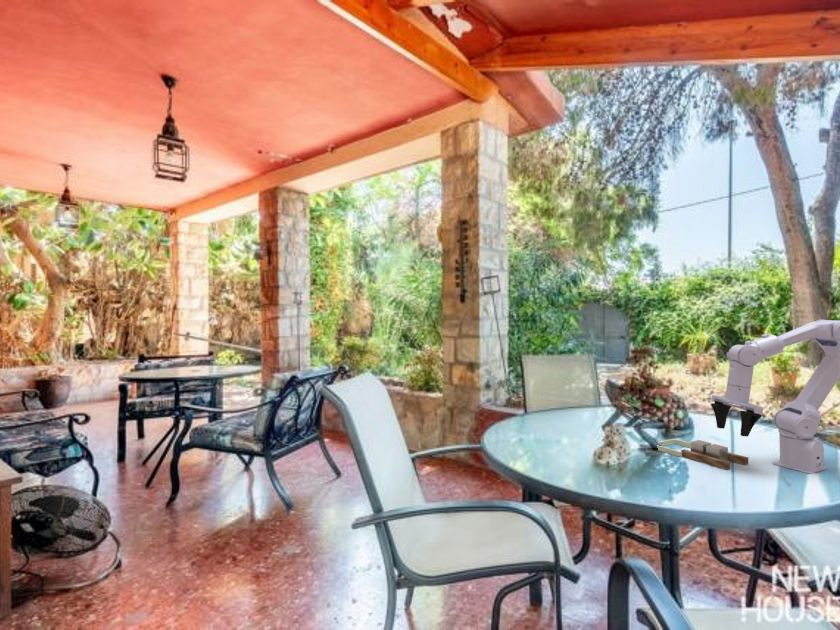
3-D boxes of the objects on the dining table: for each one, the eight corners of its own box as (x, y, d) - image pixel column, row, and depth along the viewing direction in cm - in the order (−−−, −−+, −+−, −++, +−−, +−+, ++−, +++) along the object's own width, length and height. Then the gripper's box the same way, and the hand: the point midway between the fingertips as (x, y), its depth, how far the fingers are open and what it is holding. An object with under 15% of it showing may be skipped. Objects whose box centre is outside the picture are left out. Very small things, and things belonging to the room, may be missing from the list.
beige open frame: (705, 451, 149) (705, 446, 149) (681, 457, 144) (680, 452, 144) (674, 442, 159) (674, 438, 159) (650, 447, 154) (650, 443, 154)
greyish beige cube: (711, 457, 143) (711, 443, 143) (703, 459, 142) (702, 445, 141) (699, 454, 147) (699, 440, 147) (690, 456, 145) (690, 441, 145)
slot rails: (748, 464, 136) (748, 457, 136) (726, 470, 132) (726, 463, 132) (702, 451, 149) (702, 445, 149) (681, 456, 145) (681, 450, 145)
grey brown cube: (728, 462, 139) (727, 447, 139) (719, 464, 137) (719, 449, 137) (714, 458, 142) (714, 444, 142) (706, 460, 141) (706, 445, 141)
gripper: (706, 380, 141) (700, 424, 141) (752, 390, 127) (745, 439, 127) (724, 381, 143) (718, 425, 143) (771, 392, 129) (764, 440, 129)
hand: (732, 431), depth 135 cm, fingers open, 7 cm apart
